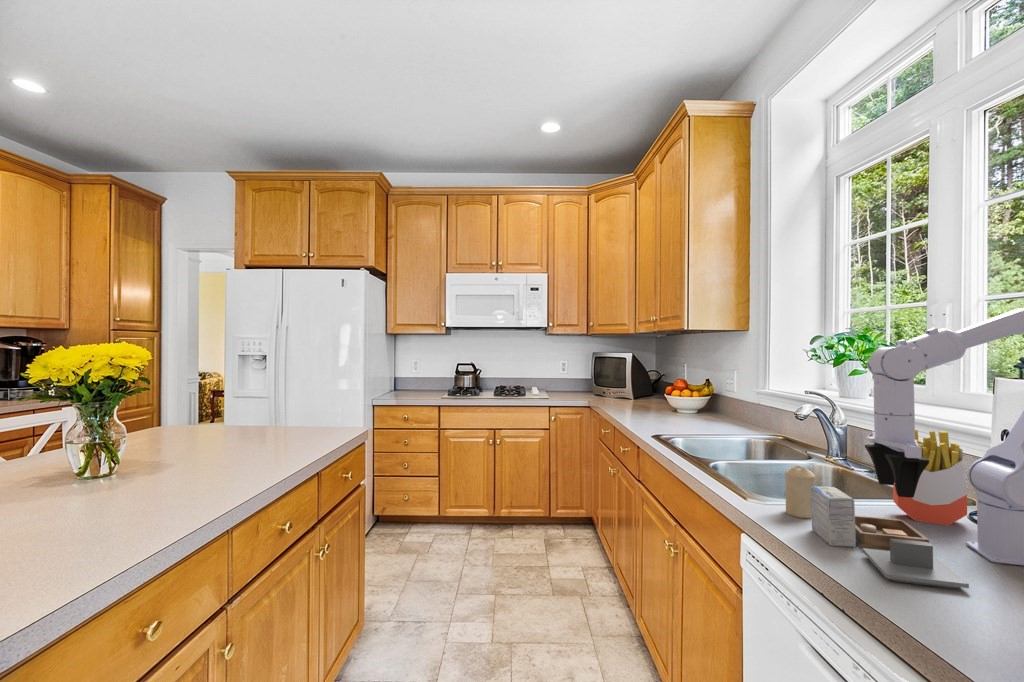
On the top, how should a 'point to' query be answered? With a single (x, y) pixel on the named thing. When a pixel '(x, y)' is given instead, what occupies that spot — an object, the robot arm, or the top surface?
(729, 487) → the top surface
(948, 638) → the top surface
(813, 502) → the medicine box
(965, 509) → the french fries container
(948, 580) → the lid
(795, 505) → the candle
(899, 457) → the robot arm
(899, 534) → the box
